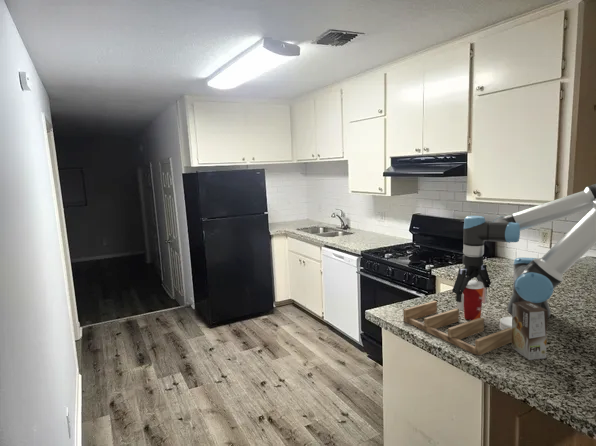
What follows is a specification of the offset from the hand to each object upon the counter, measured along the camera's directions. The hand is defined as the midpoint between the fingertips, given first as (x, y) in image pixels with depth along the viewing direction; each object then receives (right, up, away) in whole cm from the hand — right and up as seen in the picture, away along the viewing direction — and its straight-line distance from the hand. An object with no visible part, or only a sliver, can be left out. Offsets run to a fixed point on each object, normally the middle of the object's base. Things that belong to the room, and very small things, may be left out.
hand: (471, 305), depth 157 cm
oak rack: (-11, -7, -11) cm, 17 cm away
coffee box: (+5, -9, -29) cm, 31 cm away
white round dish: (+11, -7, -12) cm, 17 cm away
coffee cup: (+1, -5, +1) cm, 5 cm away
